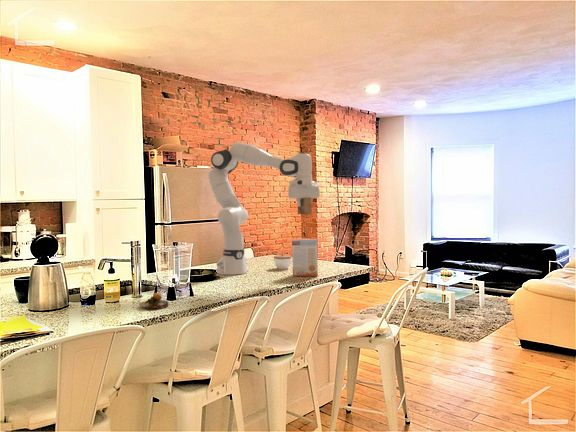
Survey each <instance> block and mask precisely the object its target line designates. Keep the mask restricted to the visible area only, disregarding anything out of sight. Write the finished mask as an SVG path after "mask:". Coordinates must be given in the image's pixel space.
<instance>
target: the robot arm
mask: <svg viewBox="0 0 576 432" xmlns="http://www.w3.org/2000/svg"><path fill="white" fill-rule="evenodd" d="M312 160H313V159H312V156H311V155H310V154H309V153H306V152H297V153H296V154H294V156H291V157H289V158H287V159H284V158H280V157H277V156H273V155H272V154H270V153H268V152H266V151H265V150H263V149H261V148H259V147H257V146H255V145H253V144H249V143H246V142H240V141H237V142H233V143H232V144H231V145H230V148H229V149H227V148H226V149H222V150H218V151H215V152H214V153H213V154H212V155H211V157H210V162H211V165H212V167H214V168H212V169H211V170H210V171H208V175H207V176H208V180H209V184H210V187H211V189H212V191H213V195H214V198H215V199H216V202H218V204H219V205H220V206H221V207H222V208H223V209H221V210H219V211H218V214H217V220H218V222H219V224H220V225H221V228H222V232H223V238H224V239H223V240H224V249H223V250H222V256H221V258H220V259H218V261H217V262H216V268H215V269H213V270H216V272H217V274H218V275H221V276H223V275H225V276H226V275H231V276H233V275H234V276H235V275H243V274H246V273H247V272H249V268H247V258H246V257H245V248H244V234H243V233H242V231H241V227H240V225H242V224H244V223H245V222H246V221H247V220H248V218H249V212H248V210H247V209H246V208H245V207H244V206H243V205H242V204H241V201H240V200H239V199H238V197H237V196H236V194H235V192H234V189H233V187H232V185H231V182H230V180H229V178H228V174H230V173H232V172H233V170H235V169H236V168H237V167H238V165H239V162H241V163H243V164H244V163H245V164H247V165H250V166H260V167H263V166H264V167H270V168H274V169H278V170H279V172H280V174H282V175H283V176H286V177H292V178H294V179H292V180H290V181H289V182H288V185H289V186H288V193H287V194H288V198H289V199H290V200H291V199H295V200H296V203H297V208H298V207H302V204H301V202H300V200H301V198H311V203H312V202H313V199H319V198H320V196H321V195H320V187H319V183H318V182H317V181H313V175H312V172H313V171H312V170H313V163H312V162H313V161H312ZM216 272H215V273H216Z"/></svg>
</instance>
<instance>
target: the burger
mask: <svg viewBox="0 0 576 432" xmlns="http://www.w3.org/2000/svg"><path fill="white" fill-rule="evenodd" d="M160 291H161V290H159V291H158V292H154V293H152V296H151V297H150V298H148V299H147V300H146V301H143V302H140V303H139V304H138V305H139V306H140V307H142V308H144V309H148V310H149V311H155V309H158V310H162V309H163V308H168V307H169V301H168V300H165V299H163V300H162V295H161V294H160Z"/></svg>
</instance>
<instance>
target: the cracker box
mask: <svg viewBox="0 0 576 432" xmlns="http://www.w3.org/2000/svg"><path fill="white" fill-rule="evenodd" d="M291 243H292V249H291V251H292V255H291V262H292V277H318V275H319V274H318V271H319V270H318V265H319V263H318V238H293V239H292V240H291Z"/></svg>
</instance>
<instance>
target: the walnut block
mask: <svg viewBox="0 0 576 432" xmlns="http://www.w3.org/2000/svg"><path fill="white" fill-rule="evenodd" d="M300 202H301V204H302V207H298V206H297V215H312V202H311V198H301V200H300Z"/></svg>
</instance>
